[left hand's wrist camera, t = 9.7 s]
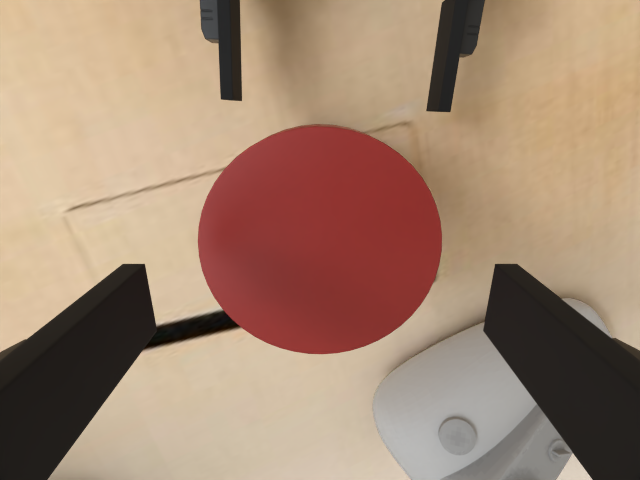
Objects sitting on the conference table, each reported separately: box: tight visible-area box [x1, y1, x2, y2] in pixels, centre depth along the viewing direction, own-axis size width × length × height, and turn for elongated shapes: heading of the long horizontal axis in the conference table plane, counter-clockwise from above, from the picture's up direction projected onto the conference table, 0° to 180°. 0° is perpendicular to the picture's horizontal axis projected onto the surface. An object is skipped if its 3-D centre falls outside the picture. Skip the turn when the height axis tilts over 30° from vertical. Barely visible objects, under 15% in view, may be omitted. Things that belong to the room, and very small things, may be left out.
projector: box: [373, 298, 612, 480], centre depth 32 cm, size 22×23×15 cm
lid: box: [198, 124, 442, 354], centre depth 18 cm, size 11×11×2 cm
